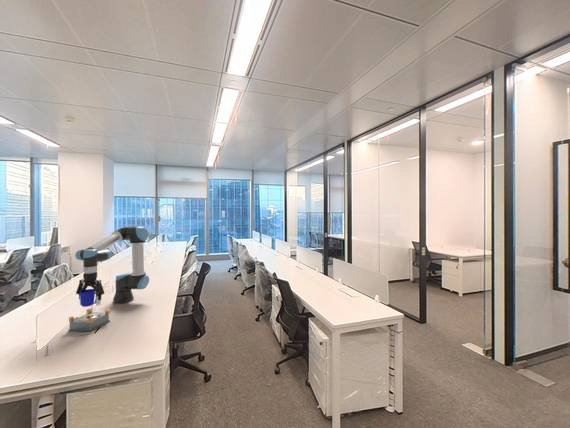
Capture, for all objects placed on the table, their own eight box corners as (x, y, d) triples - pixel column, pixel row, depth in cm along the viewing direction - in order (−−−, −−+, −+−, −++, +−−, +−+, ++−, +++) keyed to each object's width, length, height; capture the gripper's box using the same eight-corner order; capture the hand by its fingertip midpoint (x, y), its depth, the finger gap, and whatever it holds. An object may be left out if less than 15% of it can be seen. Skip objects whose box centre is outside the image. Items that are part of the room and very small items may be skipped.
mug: (91, 308, 169) (91, 293, 169) (76, 307, 171) (76, 292, 171) (102, 304, 177) (102, 289, 177) (88, 302, 179) (88, 288, 179)
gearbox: (87, 320, 184) (87, 308, 183) (110, 321, 182) (110, 309, 182) (64, 331, 166) (64, 318, 166) (90, 332, 165) (90, 319, 165)
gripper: (69, 273, 171) (68, 305, 171) (102, 274, 169) (102, 307, 169) (79, 270, 179) (78, 301, 179) (111, 271, 177) (110, 303, 177)
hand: (90, 304), depth 174 cm, fingers closed on mug, 11 cm apart
